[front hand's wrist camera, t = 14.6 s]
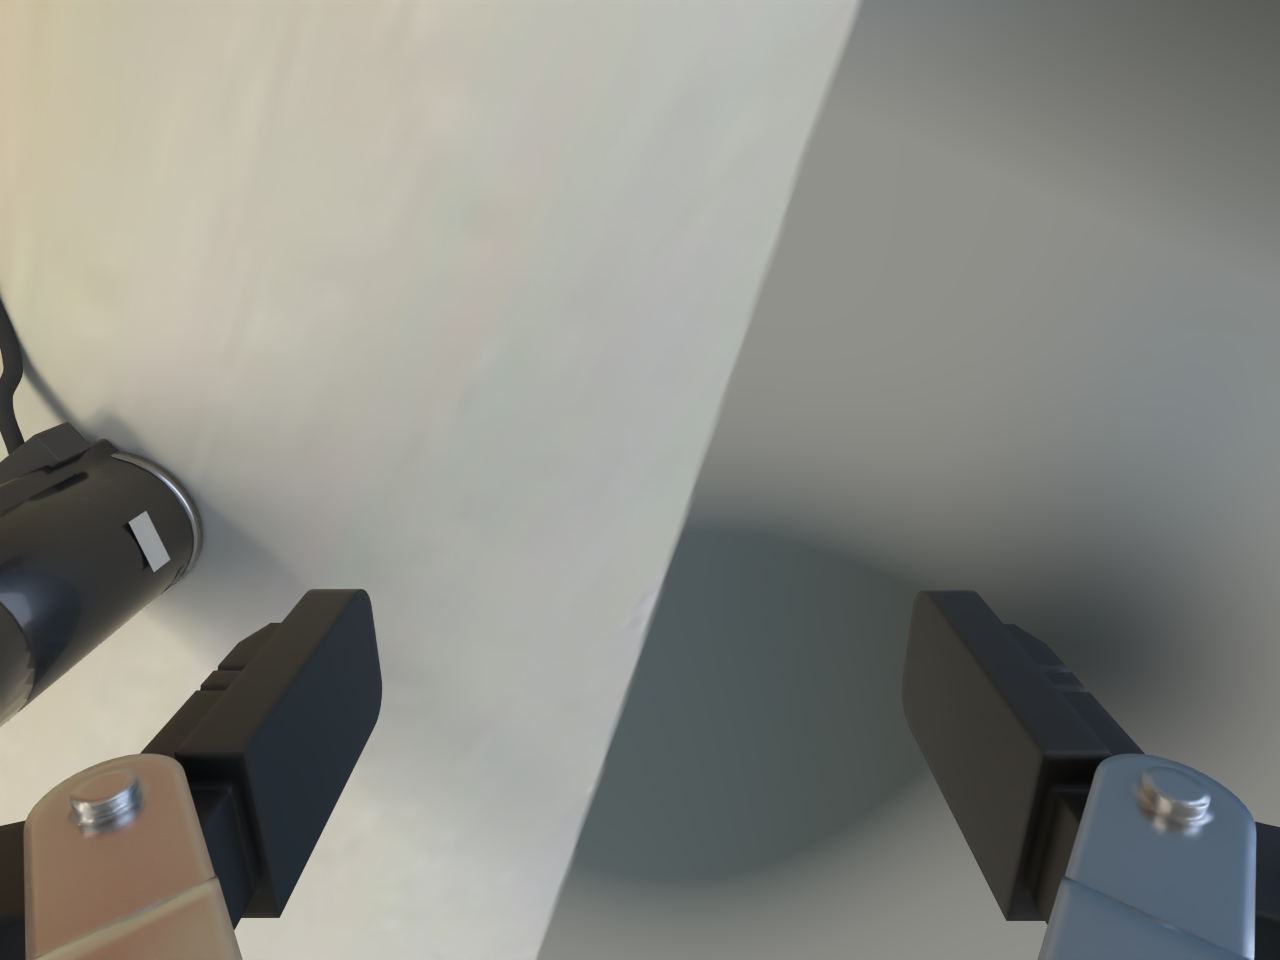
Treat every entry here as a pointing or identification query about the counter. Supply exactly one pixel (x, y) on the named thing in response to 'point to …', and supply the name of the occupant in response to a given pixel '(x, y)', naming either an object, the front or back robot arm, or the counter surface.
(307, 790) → the front robot arm
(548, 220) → the counter surface
